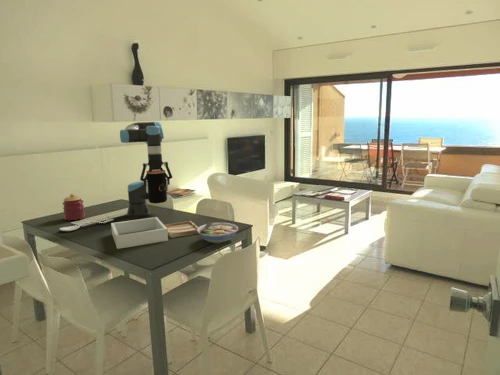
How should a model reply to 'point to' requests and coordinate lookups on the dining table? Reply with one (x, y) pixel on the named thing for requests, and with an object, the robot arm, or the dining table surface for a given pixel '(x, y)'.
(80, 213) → the canister
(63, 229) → the spoon
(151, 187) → the coffee jar
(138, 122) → the robot arm
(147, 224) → the crate
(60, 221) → the dining table surface
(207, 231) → the ramen bowl
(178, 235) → the tray
